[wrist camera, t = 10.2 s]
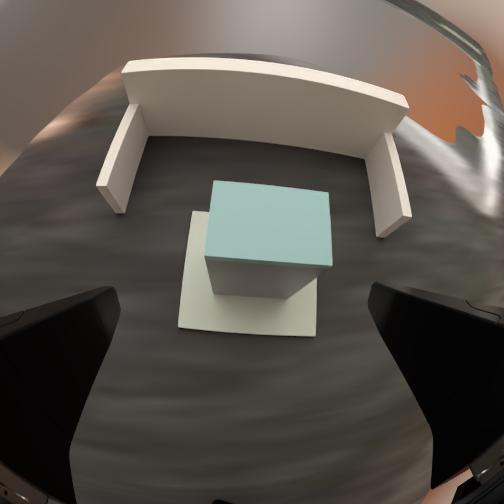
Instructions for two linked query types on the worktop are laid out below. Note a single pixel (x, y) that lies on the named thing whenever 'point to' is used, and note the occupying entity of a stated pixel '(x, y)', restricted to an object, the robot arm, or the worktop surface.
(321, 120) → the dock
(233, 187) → the grey teal block
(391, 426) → the worktop surface
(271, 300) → the mat
